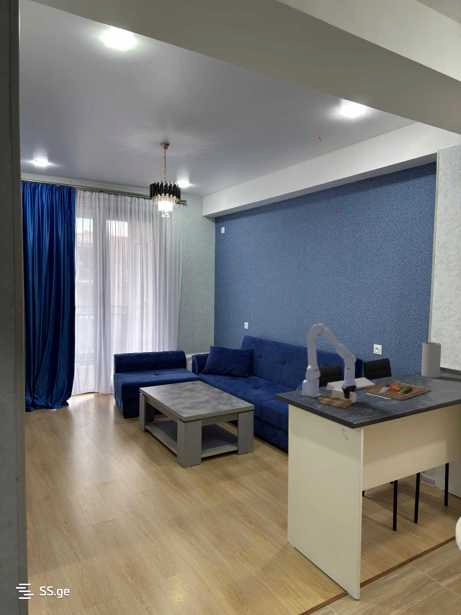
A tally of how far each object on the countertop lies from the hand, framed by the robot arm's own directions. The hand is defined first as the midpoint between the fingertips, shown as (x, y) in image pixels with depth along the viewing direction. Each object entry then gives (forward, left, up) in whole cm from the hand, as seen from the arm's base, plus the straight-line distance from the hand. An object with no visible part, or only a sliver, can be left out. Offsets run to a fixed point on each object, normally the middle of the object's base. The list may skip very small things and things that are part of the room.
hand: (348, 398), depth 238 cm
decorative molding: (-12, +30, -2) cm, 33 cm away
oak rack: (-4, -11, -1) cm, 12 cm away
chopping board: (+13, +43, -2) cm, 45 cm away
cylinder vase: (+17, +106, -2) cm, 107 cm away
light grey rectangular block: (-3, +1, -1) cm, 4 cm away
